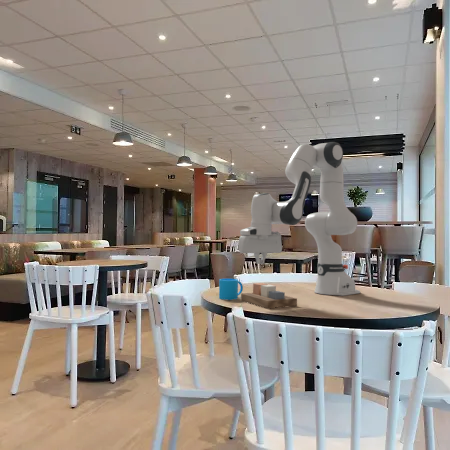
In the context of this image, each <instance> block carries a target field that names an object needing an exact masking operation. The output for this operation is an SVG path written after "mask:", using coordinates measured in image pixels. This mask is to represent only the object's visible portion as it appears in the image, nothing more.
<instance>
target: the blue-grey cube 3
mask: <svg viewBox="0 0 450 450" xmlns="http://www.w3.org/2000/svg"><path fill="white" fill-rule="evenodd" d="M285 296H286V295H285V292H284V291H280V290H276V291H270V292H269V298H271V299H275V300H277V299H284V298H285Z"/></svg>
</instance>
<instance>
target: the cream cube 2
mask: <svg viewBox="0 0 450 450" xmlns="http://www.w3.org/2000/svg"><path fill="white" fill-rule="evenodd" d="M270 291H277V286H276V285H272V284H268V285H261V296H264V297H269V292H270Z"/></svg>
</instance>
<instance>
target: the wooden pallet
mask: <svg viewBox="0 0 450 450" xmlns="http://www.w3.org/2000/svg"><path fill="white" fill-rule="evenodd" d="M240 301H241V302H244V301H245V302H244V303H247V302H248V303H249V304H251V303H252V304H251V305H254V304H255V305H254V306H257V305H258V307H260V306H261V308H263V307H264V308H263V309H267V308H271V309H276V308H275V307H282V308H290V307H291V308H292V307H297V306H298V298H296V297H293V296H288V295H285V298H284V299H277V300H275V299H271V298H269V297H264V296H261V295H256V294H253V292H245V293H241V294H240Z"/></svg>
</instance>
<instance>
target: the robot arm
mask: <svg viewBox="0 0 450 450" xmlns="http://www.w3.org/2000/svg"><path fill="white" fill-rule="evenodd" d="M343 156H344V150H343V147H342V146H341V144H340V143H339V142H335V141H329V142H324V143H323V142H322V143H318V144H316V145H312V144H309V143H302V144H301V145H299V146H298V147H297V148H296V149H295V150H294V152H293V153H292V155H291V157H290V159H289V160H288V162H287V163H286V167H285V171H284V173H285V176H286V178H287V179H288V181H289V182H290V183H292V184H294V185H295V187H294V190H293V193H292V195H291V198H290V199H289V200H285V201H278V200H276V199H275V198H273V197H272V195H271V194H270V193H269V192H263V193H257V194H254V195H253V197H252V200H251V206H250V216H251V221H250V226H249V227H246V228H243V229H240V232H239V234H240V236H239V238H238V245H237V247H238V249H237V250H238V252H239V253H240V254H253V256H254V258H255V263H256V264H257V265H261V264H262V265H264V264H265V260H266V258H267V255H268V254H281V252H282V251H283V245H282V235H281V233H280V232H279V231H272V229H273V228H272V225H288V226H295V225H297V224H298V223H300V221H301V220H302V218H303V214H304V207H305V203H306V200H307V198H308V197H307V196H308V194H309V192H310V187H311V184H312V183H311V182H312V177H311V176H312V175H311V173H312V169H320V173H321V174H320V178H319V179H320V182H319V199H320V202H322V203H324V204H325V205H326V206H328V208H329V211H318V212H313V213H310V214H308V215H307V216H306V217H305V220H304V227H305V229H306V231H307V232H308V233H309V234H310V235H311V236H312V237H313V238H314V241H315V242H316V245H317V255H318V257H317V259H318V260H317V261H318V262H317V264H316V265H317V267H316V271H317V275H316V276H317V277H316V284H315V288H314V291H313V292H314V293H316V294H321V295H327V296H329V295H330V296H332V295H333V296H350V295H355V294H360V293H361V290H360V289H359V290H358V289H356V283H355V280H354V278H352V277H351V276H350V275H349V274H347V273H346V272H345V271H346V270H348V269H349V265H348V264H343V260H342V259H343V258H342V257H343V250H342V247H341V245H340V244H338V243H337V242H335V241H334V240H333V238H332V236H345V235H346V236H347V235H351V234H353V233H355V232H356V230H357V228H358V219H357V217H356V216H355V214H354V213H353V212H351V210H350V209H348V207H347V205H346V202H345V198H344V186H345V185H344V168H343V164H342V161H343ZM260 254H261V255H260ZM260 256H261V258H260Z"/></svg>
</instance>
